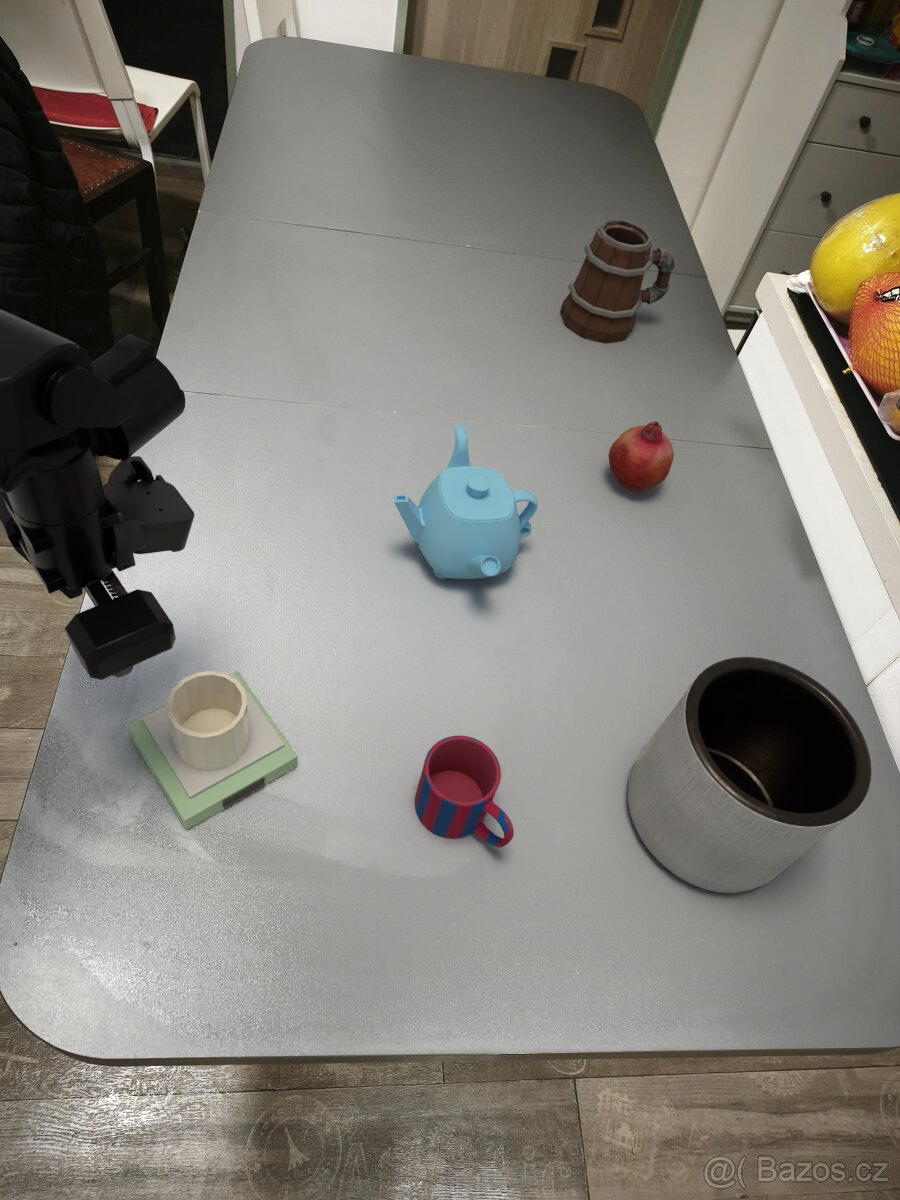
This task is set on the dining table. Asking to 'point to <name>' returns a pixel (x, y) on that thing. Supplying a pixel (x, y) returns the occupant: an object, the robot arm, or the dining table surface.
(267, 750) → the scale
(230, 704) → the ramekin
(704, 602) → the dining table surface
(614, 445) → the fruit
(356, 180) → the dining table surface
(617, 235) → the mug
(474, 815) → the cup
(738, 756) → the planter
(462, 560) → the teapot
